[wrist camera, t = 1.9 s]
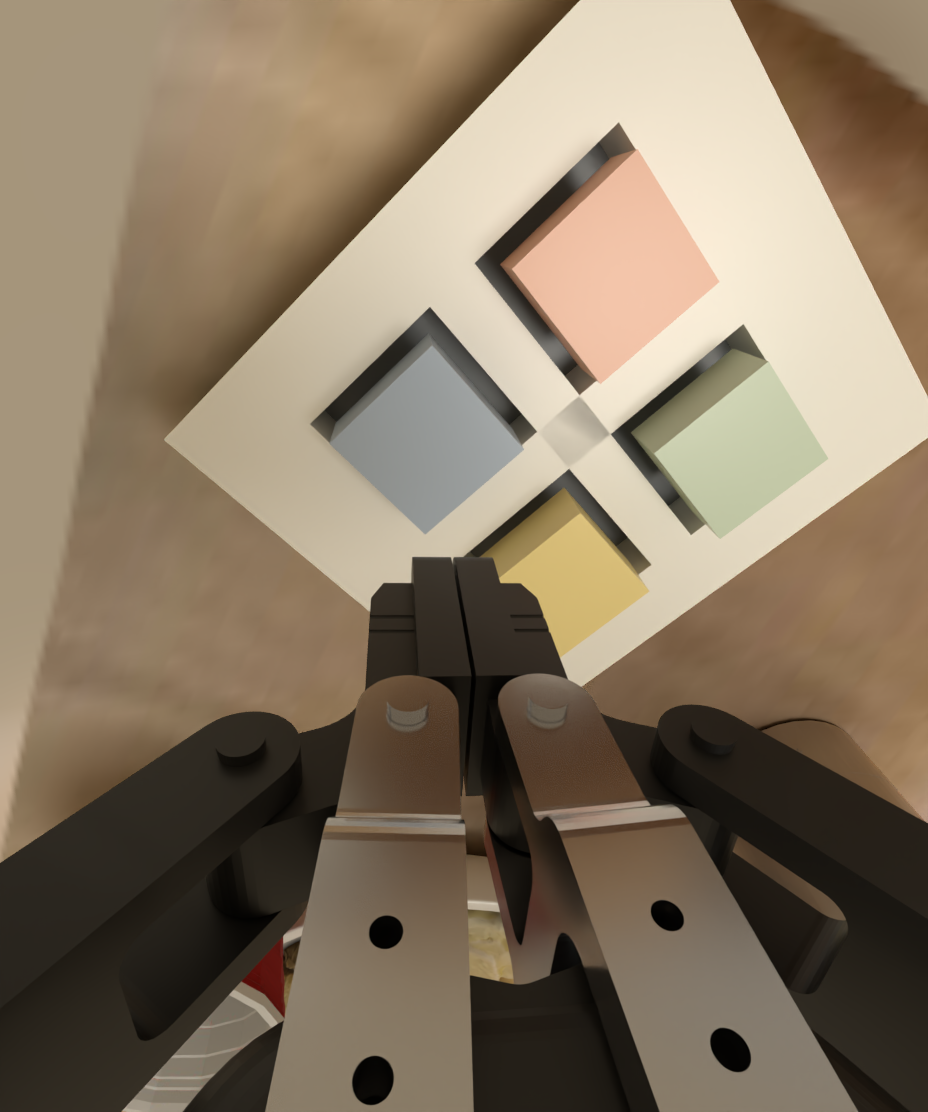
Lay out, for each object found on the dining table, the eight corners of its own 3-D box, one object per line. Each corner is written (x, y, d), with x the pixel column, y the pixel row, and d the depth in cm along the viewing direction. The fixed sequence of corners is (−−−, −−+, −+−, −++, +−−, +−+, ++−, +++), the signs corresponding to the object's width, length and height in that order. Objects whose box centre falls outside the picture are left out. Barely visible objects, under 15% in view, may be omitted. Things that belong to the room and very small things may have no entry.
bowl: (168, 827, 36) (114, 971, 29) (672, 818, 40) (730, 945, 33) (217, 1093, 50) (187, 1234, 43) (588, 1068, 53) (617, 1195, 46)
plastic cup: (123, 724, 32) (-12, 970, 21) (338, 751, 34) (312, 987, 24) (118, 866, 37) (4, 1127, 26) (308, 882, 39) (274, 1129, 28)
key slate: (512, 428, 23) (524, 449, 21) (422, 507, 24) (425, 534, 22) (428, 333, 21) (432, 345, 19) (335, 422, 22) (329, 443, 20)
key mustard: (629, 560, 26) (649, 591, 24) (544, 625, 27) (557, 659, 25) (564, 487, 24) (580, 512, 22) (476, 559, 25) (483, 590, 23)
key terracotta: (686, 275, 21) (719, 281, 19) (581, 368, 22) (600, 383, 20) (611, 157, 19) (637, 148, 17) (499, 264, 20) (511, 269, 18)
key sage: (790, 437, 24) (828, 458, 22) (692, 512, 25) (719, 539, 23) (732, 348, 22) (768, 361, 20) (630, 432, 23) (654, 453, 21)
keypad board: (869, 399, 28) (942, 427, 24) (502, 676, 33) (515, 733, 29) (626, -43, 20) (678, -104, 16) (197, 408, 25) (163, 439, 21)
